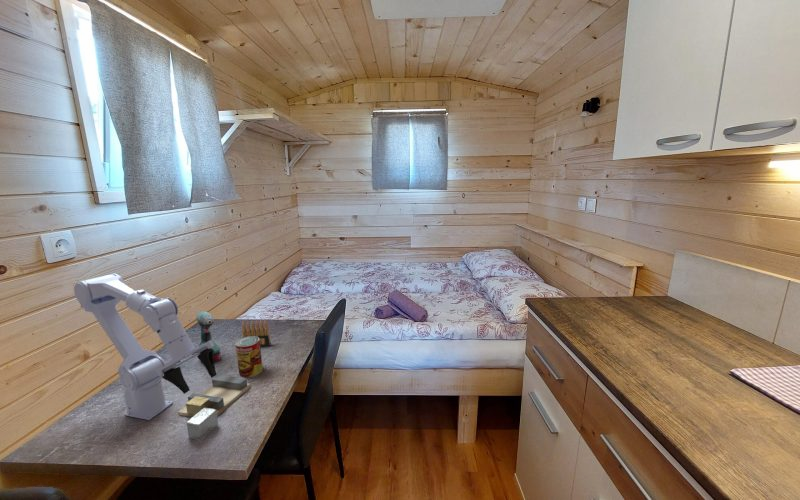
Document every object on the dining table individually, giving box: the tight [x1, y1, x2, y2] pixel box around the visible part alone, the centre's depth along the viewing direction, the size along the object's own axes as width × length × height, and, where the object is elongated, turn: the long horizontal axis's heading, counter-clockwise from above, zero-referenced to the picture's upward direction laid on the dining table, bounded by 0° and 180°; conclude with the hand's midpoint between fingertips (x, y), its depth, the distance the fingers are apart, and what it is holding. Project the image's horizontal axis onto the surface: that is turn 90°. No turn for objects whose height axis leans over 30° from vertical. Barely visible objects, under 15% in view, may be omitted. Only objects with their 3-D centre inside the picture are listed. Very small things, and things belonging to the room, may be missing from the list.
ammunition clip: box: [241, 318, 272, 348], centre depth 139 cm, size 11×2×12 cm, turn 98°
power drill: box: [196, 310, 221, 362], centre depth 128 cm, size 7×16×20 cm, turn 41°
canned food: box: [235, 336, 263, 379], centre depth 121 cm, size 8×8×12 cm
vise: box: [177, 374, 252, 418], centre depth 106 cm, size 12×17×4 cm
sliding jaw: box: [185, 393, 224, 415], centre depth 100 cm, size 11×6×3 cm, turn 76°
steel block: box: [186, 408, 219, 441], centre depth 92 cm, size 4×6×5 cm, turn 166°
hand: (200, 384), depth 91 cm, fingers open, 7 cm apart
